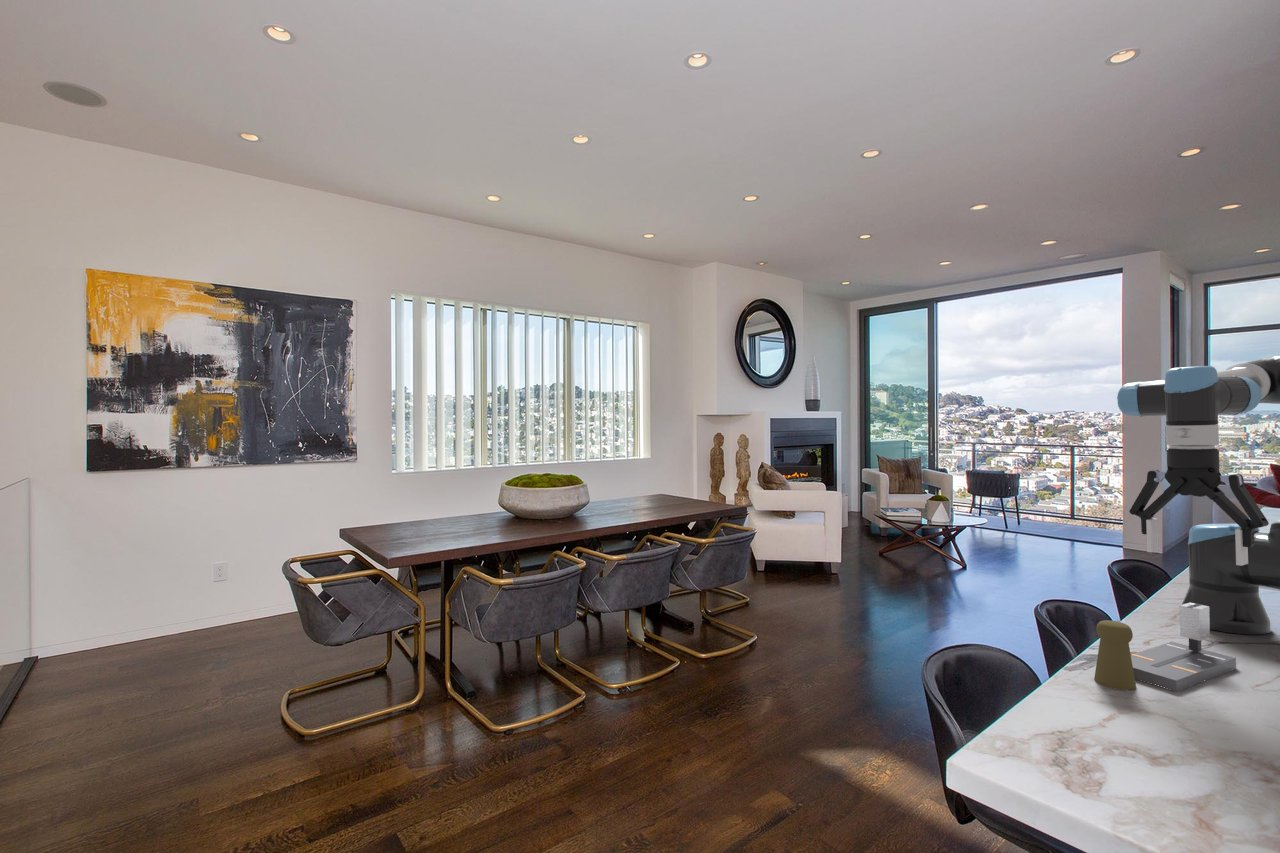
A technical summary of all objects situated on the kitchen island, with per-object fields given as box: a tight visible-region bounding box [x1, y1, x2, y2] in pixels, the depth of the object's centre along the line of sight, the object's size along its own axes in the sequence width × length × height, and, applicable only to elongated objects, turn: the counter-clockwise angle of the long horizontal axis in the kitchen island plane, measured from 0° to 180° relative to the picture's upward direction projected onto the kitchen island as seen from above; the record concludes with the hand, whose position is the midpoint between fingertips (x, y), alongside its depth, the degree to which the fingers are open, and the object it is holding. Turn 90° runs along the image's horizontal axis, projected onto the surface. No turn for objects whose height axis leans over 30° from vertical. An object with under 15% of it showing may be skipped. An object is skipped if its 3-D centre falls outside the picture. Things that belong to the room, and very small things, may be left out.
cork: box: [1093, 619, 1137, 691], centre depth 111 cm, size 6×6×11 cm
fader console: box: [1130, 641, 1237, 693], centre depth 116 cm, size 22×10×2 cm, turn 116°
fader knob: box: [1179, 603, 1211, 652], centre depth 120 cm, size 4×3×9 cm
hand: (1195, 557), depth 118 cm, fingers open, 13 cm apart
